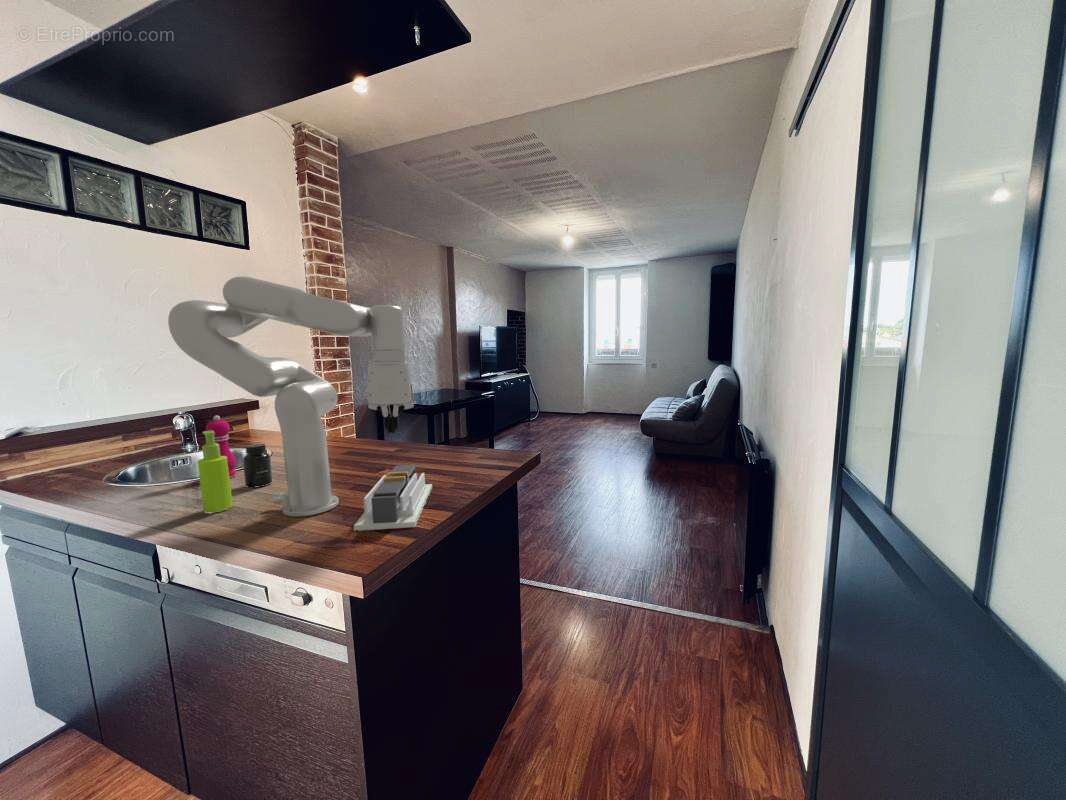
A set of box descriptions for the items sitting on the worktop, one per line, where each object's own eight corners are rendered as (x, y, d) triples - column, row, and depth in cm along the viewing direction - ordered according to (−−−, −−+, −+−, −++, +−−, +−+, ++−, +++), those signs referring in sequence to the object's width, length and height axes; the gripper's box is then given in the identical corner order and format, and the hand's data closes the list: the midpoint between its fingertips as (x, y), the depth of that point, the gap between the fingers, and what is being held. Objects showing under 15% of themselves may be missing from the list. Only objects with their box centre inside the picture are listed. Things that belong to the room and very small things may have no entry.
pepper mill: (223, 481, 131) (215, 417, 128) (203, 480, 132) (195, 417, 129) (243, 474, 138) (236, 413, 135) (224, 473, 139) (217, 413, 136)
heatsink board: (354, 530, 92) (351, 500, 91) (384, 490, 118) (383, 466, 117) (415, 527, 93) (413, 496, 92) (432, 488, 119) (430, 464, 118)
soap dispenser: (229, 502, 112) (220, 428, 109) (235, 508, 107) (225, 431, 105) (202, 508, 108) (191, 431, 105) (206, 515, 103) (195, 435, 100)
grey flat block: (373, 497, 94) (372, 490, 93) (385, 483, 103) (384, 476, 103) (396, 496, 94) (396, 489, 94) (405, 482, 104) (405, 475, 104)
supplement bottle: (263, 488, 123) (258, 448, 121) (240, 488, 123) (235, 448, 121) (277, 480, 130) (273, 442, 128) (255, 481, 130) (251, 443, 128)
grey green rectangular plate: (387, 479, 105) (386, 473, 105) (396, 469, 115) (395, 463, 115) (407, 478, 106) (407, 472, 106) (415, 468, 116) (414, 462, 116)
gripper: (351, 358, 98) (356, 435, 100) (417, 357, 99) (420, 434, 102) (361, 357, 105) (365, 429, 108) (422, 357, 107) (425, 428, 109)
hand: (392, 431), depth 105 cm, fingers closed
